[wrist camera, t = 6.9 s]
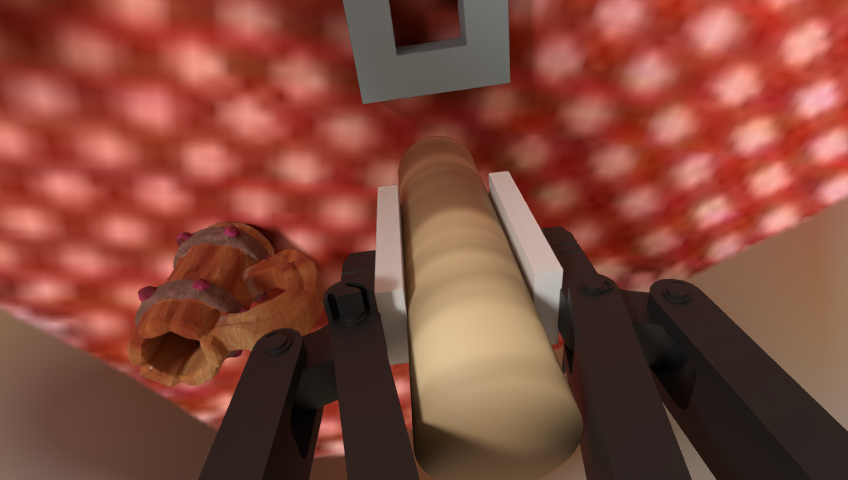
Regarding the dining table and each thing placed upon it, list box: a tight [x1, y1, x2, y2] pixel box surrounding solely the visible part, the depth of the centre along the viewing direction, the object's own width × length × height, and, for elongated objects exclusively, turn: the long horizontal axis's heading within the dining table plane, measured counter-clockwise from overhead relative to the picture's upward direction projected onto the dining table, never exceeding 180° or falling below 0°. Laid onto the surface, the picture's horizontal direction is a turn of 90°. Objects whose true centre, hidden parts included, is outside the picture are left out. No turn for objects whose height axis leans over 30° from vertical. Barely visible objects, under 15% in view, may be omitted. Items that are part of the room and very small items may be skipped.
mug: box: [127, 222, 325, 386], centre depth 38 cm, size 15×8×15 cm, turn 100°
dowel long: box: [398, 136, 583, 480], centre depth 16 cm, size 4×4×14 cm
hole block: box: [343, 0, 510, 104], centre depth 33 cm, size 11×11×4 cm
